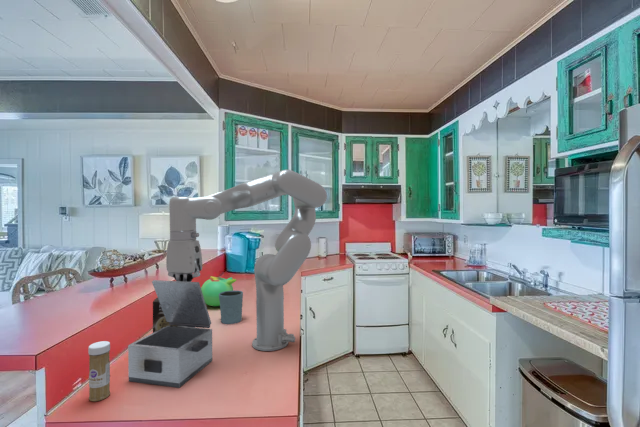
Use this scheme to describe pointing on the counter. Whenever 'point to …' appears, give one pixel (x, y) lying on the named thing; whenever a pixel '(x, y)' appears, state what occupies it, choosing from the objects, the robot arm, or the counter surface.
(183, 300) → the lid
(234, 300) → the grey cup
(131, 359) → the cooker
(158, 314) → the coffee box
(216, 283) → the green teapot
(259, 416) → the counter surface
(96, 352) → the sprinkles bottle
